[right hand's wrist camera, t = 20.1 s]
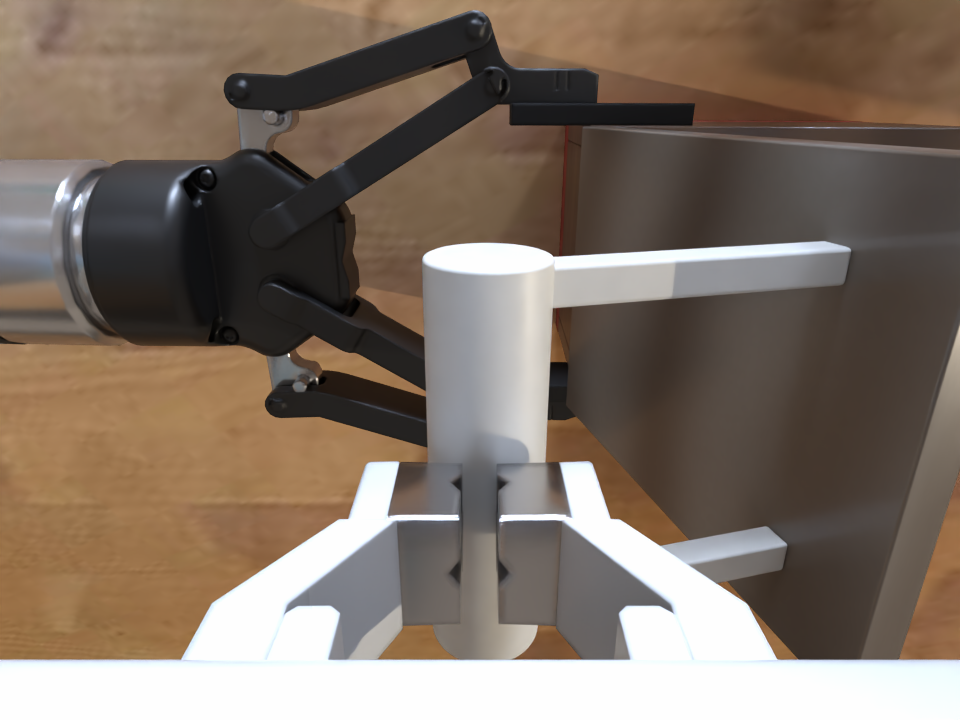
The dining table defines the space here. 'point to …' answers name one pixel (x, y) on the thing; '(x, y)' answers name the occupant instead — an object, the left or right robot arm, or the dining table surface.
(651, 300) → the lid
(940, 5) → the dining table surface
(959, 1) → the dining table surface
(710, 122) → the chest
